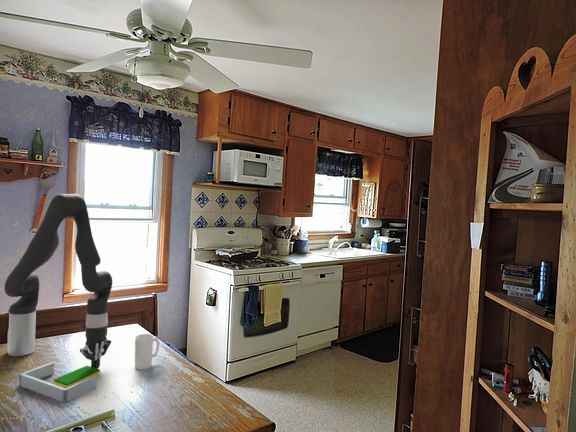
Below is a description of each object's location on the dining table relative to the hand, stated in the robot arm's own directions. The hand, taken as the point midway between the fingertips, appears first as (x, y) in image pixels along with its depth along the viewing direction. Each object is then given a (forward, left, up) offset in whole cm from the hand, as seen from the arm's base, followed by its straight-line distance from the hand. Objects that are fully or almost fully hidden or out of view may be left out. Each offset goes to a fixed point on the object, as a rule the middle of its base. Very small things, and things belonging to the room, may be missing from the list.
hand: (95, 368), depth 153 cm
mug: (+13, +14, -1) cm, 19 cm away
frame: (0, -15, -1) cm, 15 cm away
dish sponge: (+1, -8, -1) cm, 9 cm away
